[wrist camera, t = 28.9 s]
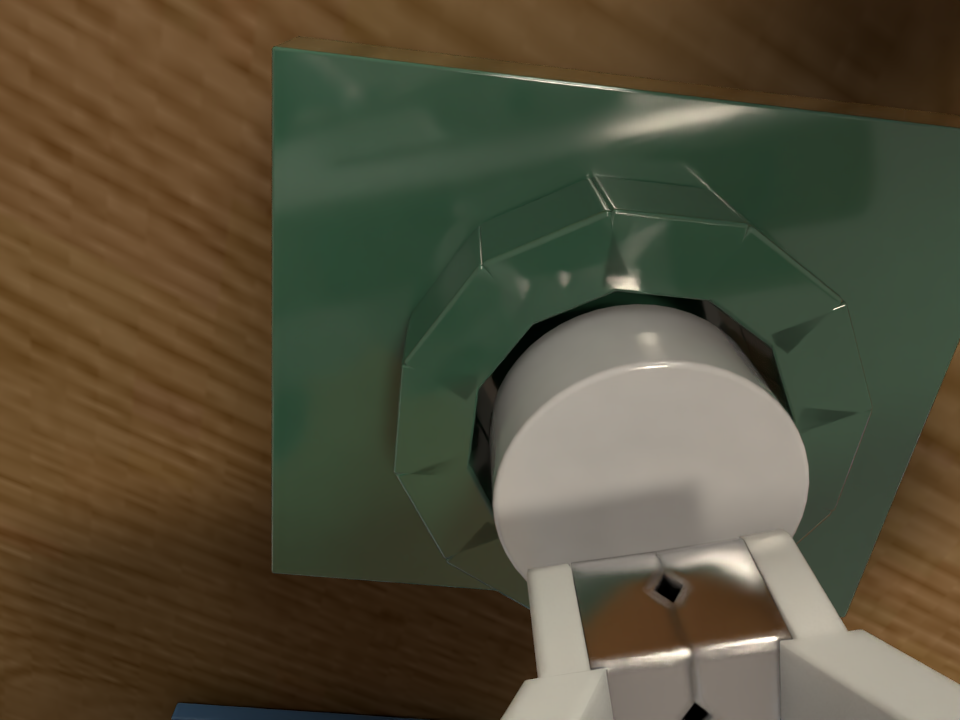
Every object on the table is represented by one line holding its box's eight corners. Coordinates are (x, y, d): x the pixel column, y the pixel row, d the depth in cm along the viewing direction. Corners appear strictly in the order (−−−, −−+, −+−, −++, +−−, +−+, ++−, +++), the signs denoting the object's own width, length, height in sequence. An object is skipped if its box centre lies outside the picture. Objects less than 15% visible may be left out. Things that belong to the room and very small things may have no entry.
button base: (290, 513, 18) (246, 650, 14) (296, 35, 14) (236, 60, 10) (809, 556, 19) (890, 696, 15) (973, 116, 14) (1141, 166, 11)
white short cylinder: (474, 526, 14) (475, 613, 12) (507, 287, 12) (514, 346, 10) (723, 547, 14) (763, 634, 12) (795, 317, 12) (854, 379, 10)
